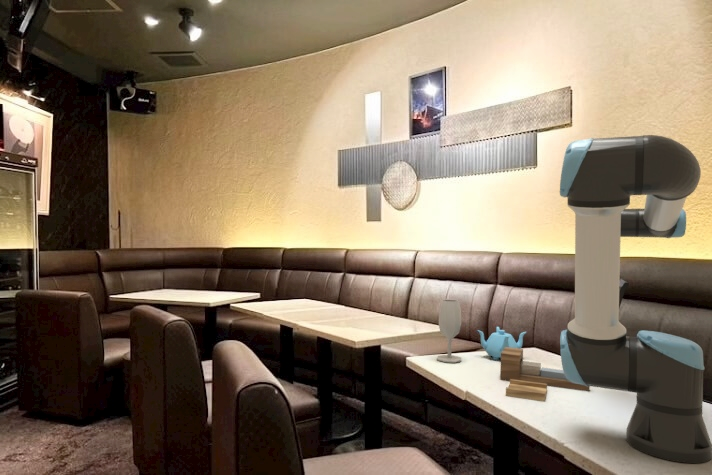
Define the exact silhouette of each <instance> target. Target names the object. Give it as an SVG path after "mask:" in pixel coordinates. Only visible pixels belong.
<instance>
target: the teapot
mask: <svg viewBox="0 0 712 475" xmlns="http://www.w3.org/2000/svg"><path fill="white" fill-rule="evenodd" d="M476 331H477V332H478V333H479V335H480V345H481V347H482V348H483V349H484V351H485V352H486V354H487V355H489V357H491V356H492V357H491V358H492V361H499V359H501V352H502V351H503V350H504V348H505V347H510V348H519V349H522V347H523V342H524V340H523V339H524V335H525V334H526V333H527V331H523V332H521V333H520V334H519V337H518V341H517V342H516V339H515V337H514V336H513V335H512V334H511V333H507V332H506V331H505V329H500V326H496V332H492V333H491V334H490V335H489V337H488V339H487V340H485V334H484V331H481V330H479V329H477V330H476Z"/></svg>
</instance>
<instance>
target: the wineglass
mask: <svg viewBox="0 0 712 475" xmlns="http://www.w3.org/2000/svg"><path fill="white" fill-rule="evenodd" d="M461 310H462V309H461V304H460V301H459V300H458V299H453V298H452V299H451V298H447V299H445V298H444V299H442V300H441V304H440V307H439V313H438V328H439V332H440V334H442V335H443V336H444V337H445V338H446V339H447V354H441V355H437V358H436V360H437V361H439V362H442V363H449V364H450V363H451V364H452V363H453V364H457V363H460V362H462V356H458V355H453V354H452V340H453V339H454V338H455V337H457V335H458V334H460V330H461V326H462V311H461Z"/></svg>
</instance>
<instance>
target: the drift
mask: <svg viewBox="0 0 712 475" xmlns="http://www.w3.org/2000/svg"><path fill="white" fill-rule="evenodd" d="M540 377H547V378H555V379H563V380H567V378H566V377H565V375H564V371H563V369H556V368H549V367H542V366H541V373H540Z"/></svg>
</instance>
